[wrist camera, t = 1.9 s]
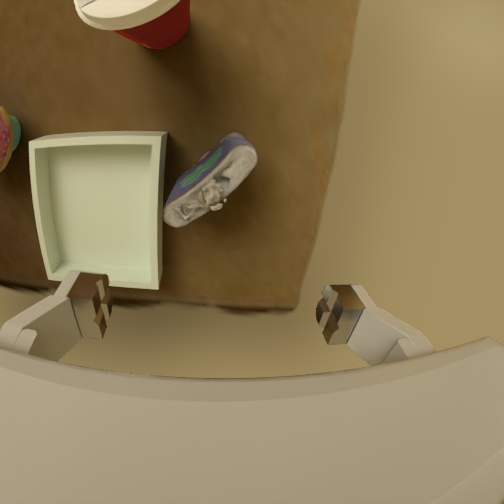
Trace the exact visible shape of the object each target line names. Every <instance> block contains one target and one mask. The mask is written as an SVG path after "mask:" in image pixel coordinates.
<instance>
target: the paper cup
mask: <svg viewBox="0 0 504 504" xmlns="http://www.w3.org/2000/svg"><path fill="white" fill-rule="evenodd" d="M74 2H75V6H76V10H77V13H78V15H79V16H80V18H81V19H82V20H83V21H84V22H86V23H87V24H88V25H90V26H93V27H95V28H98V29H103V30H112V31H114V32H116V33H118V34H120V35H122V36H124V37H126V38H128V39H130V40H132V41H134V42H136V43H138V44H140V45H142V46H144V47H147V48H151V49H163V48H167V47H170V46H172V45H174V44H175V43H177V42H178V41H179V40H181V39H182V37H183V36H184V35H185V33H186V31H187V29H188V26H189V13H190V0H74Z"/></svg>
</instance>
